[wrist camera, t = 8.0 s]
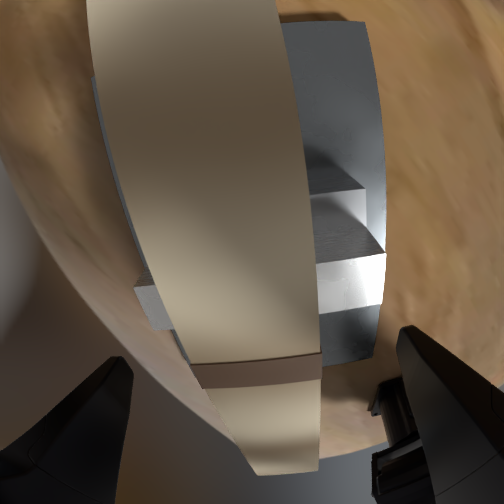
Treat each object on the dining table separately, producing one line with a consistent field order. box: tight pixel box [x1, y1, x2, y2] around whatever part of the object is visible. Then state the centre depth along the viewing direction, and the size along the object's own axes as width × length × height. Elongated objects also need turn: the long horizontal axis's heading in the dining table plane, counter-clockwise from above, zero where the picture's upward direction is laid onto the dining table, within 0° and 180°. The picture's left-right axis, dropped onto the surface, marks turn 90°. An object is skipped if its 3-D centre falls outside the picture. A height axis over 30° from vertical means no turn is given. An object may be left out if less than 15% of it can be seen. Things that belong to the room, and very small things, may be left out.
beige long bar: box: [86, 0, 322, 475], centre depth 9 cm, size 22×4×4 cm, turn 10°
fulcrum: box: [91, 21, 386, 378], centre depth 14 cm, size 22×14×6 cm, turn 10°
